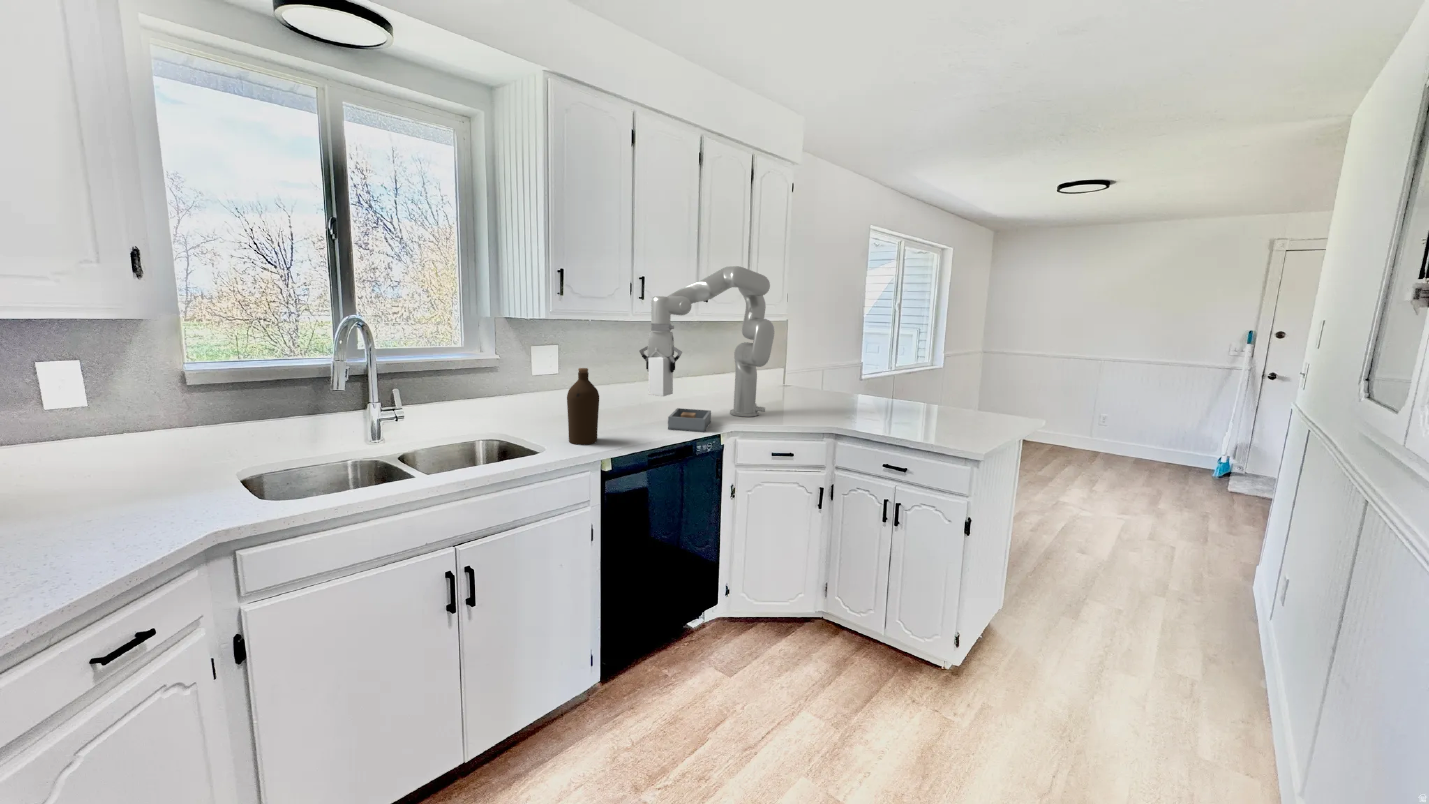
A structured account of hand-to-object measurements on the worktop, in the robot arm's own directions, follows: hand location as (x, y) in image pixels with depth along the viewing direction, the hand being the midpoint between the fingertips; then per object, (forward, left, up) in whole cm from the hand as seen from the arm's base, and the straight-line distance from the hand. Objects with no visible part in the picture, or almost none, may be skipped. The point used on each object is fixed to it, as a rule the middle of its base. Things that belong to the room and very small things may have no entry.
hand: (660, 371), depth 230 cm
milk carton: (0, 0, -10) cm, 10 cm away
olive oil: (+17, +40, -20) cm, 48 cm away
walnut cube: (-13, +10, -19) cm, 25 cm away
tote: (-14, +5, -20) cm, 25 cm away
